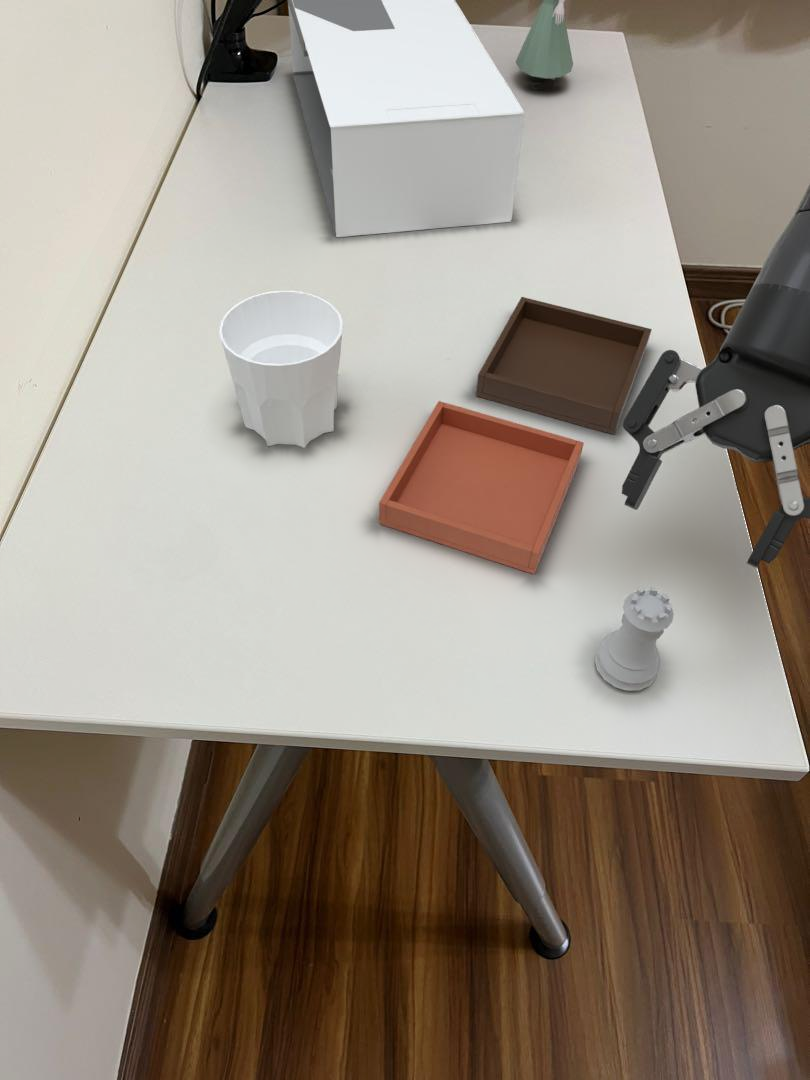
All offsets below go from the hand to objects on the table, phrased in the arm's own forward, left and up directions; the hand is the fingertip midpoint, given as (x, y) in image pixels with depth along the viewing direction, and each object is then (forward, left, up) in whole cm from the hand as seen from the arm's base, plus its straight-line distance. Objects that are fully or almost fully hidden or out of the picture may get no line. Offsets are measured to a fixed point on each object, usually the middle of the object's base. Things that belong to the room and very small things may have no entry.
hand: (689, 535), depth 56 cm
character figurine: (+35, -88, -10) cm, 95 cm away
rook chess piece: (+1, +5, -10) cm, 11 cm away
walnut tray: (+14, -25, -10) cm, 30 cm away
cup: (+35, -9, -10) cm, 38 cm away
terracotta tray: (+16, -7, -10) cm, 20 cm away
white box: (+48, -62, -10) cm, 79 cm away
